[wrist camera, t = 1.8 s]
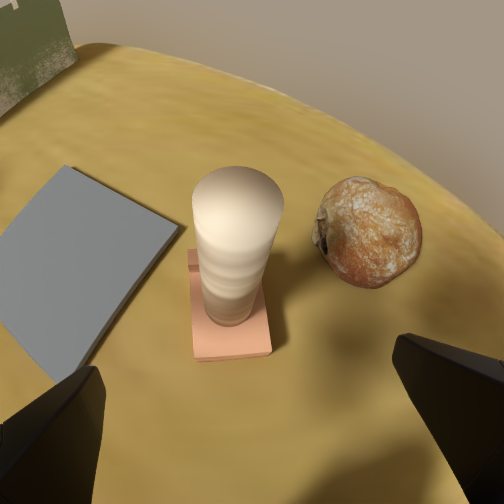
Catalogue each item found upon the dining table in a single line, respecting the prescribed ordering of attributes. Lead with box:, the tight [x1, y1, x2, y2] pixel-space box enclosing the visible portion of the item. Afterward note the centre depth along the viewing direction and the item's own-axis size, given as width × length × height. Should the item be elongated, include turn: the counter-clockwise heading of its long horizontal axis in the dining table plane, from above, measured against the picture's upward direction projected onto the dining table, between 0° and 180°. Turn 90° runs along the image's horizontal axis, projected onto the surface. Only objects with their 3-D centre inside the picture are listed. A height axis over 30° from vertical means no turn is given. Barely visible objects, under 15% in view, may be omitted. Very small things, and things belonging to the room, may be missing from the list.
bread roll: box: [312, 176, 422, 289], centre depth 24 cm, size 10×10×8 cm
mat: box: [0, 165, 179, 384], centre depth 22 cm, size 16×16×1 cm
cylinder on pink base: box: [188, 166, 284, 362], centre depth 16 cm, size 7×5×13 cm
